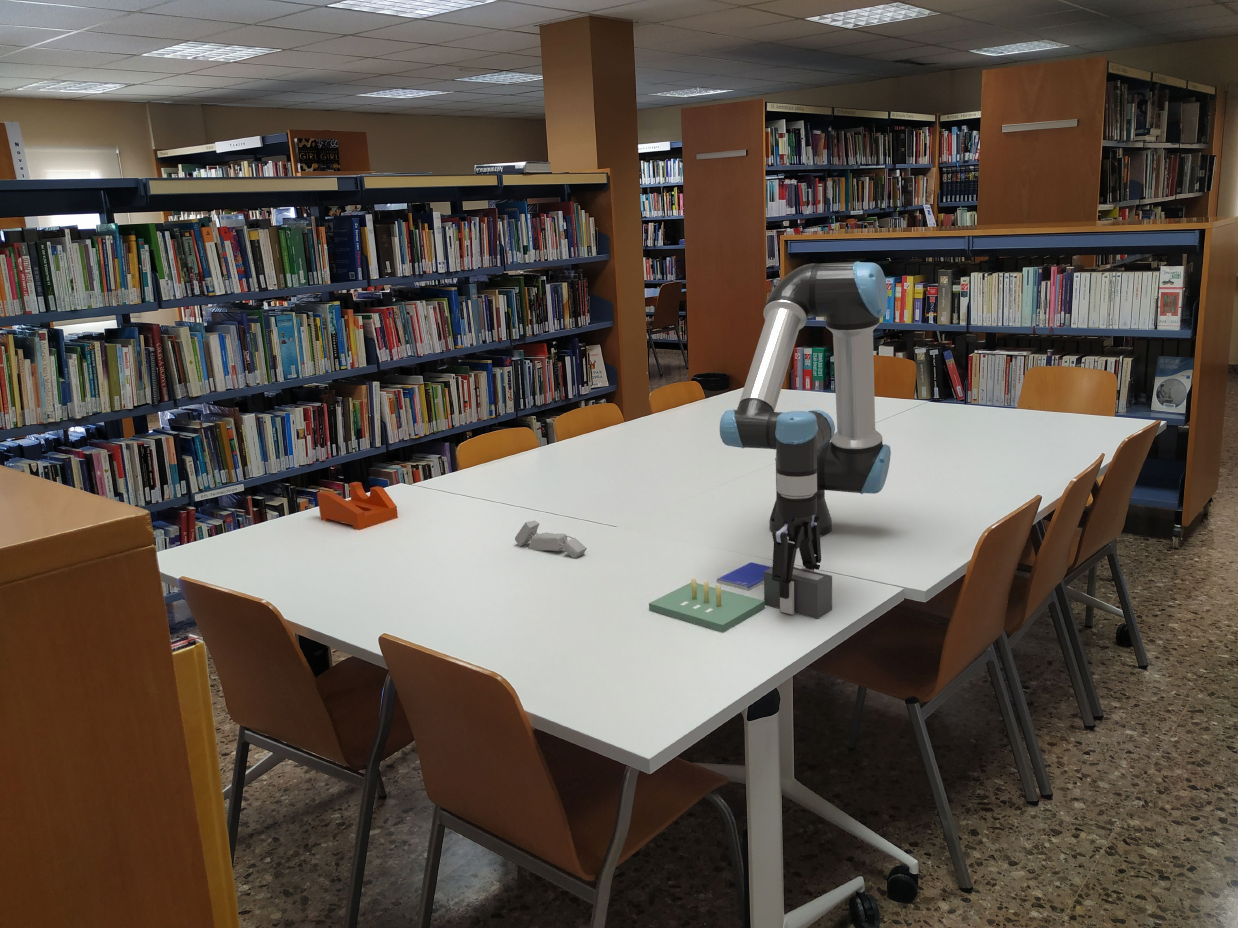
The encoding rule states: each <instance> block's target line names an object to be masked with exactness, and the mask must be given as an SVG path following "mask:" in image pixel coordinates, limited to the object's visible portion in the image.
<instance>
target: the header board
mask: <svg viewBox="0 0 1238 928" xmlns="http://www.w3.org/2000/svg"><path fill="white" fill-rule="evenodd" d="M765 608H766V605H765V601H764V599H759V598H755V597H752V596H747V595H744V594H740V593H736V592H732V591H728V590H726V589H722V586H721V585H720V584H719V585H715V587H713V586H710V585H709V582H707V581H706V582H705V581H704V582H703V583H699V582H697V579H696V578H692V579H691V580H690V582H689V583H687V584H685V585H682V586H681V587H679V588H676V589H675V590H673V591H671V592H669V593H666V594H664V595H662V596H660V597H658V598H657V599H655V600H653V601H651V602H649V603H648V610H649V611H650V612H653V613H654V612H655V613H657V614H660V615H664V616H666V617H670V618H674V619H678V620H680V621H684V622H687V623H691V624H694V625H697V626H701V627H703V628H706V629H711V630H714V631H716V632H720V633H725V632H726V631H728V630H729V629H731V628H733V627H735V626H737V625H738V624H740V623H742V622H744V621H745V620H746V619H748V618H750V617H752V616H754V615H755V614H757V613H759V612H760V611H762V610H764V609H765Z"/></svg>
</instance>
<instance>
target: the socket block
mask: <svg viewBox="0 0 1238 928" xmlns="http://www.w3.org/2000/svg"><path fill="white" fill-rule="evenodd" d="M770 567H771V568H770V569H768V570H766V571H764V583H763V596H764V597H763V601H765V606H767V607H771V608H775V609H778V610H780V589H779V582H777V581H773V580H772V567H773V566H770ZM791 581H793V582H794V614H798V615H802V616H805V617H809V618H813V619H816V620H818V619H819V618H822V617H823V616H824V615H826V614H828V613H829V612H831V611H832V610H833V575H830V574H827V573H826V574H825V573H822V572H817V571H814V572H813V571H809V570H805V569H801V568H799V567H796V566H794V568H793V573H792V579H791Z"/></svg>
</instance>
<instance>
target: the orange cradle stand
mask: <svg viewBox="0 0 1238 928" xmlns="http://www.w3.org/2000/svg"><path fill="white" fill-rule="evenodd" d="M348 487H349V494H350V499H345V498H343V497H342V496H340V495H338V494H337V493H336V492H334V491H329V490H321V491H318V492H316V494H317V500H318V501H317V502H318V507H319V508H318V509H319V515H320V516H319V517H320V520H321V521H324V522H330V521H331V520H332V521H336V522H339V523H343V524H346V525H351V526H352V529H354V530H357V531H361V530H365V529H368V528H371V527H374V526H377V525H380V524H383V523H387V522H389V521H393V520H396V519H398V518H399V515H398V508H397V505H396V503H395V502H394V500H393V499H392V498H391V496H390V494H388V493H387V491H386V489H384V487H381V486H374V487H370V488H369V490H370V492H369V494H367V493H366V492H365V490H364V488H363V484H362V482H359V481H354V482H350V483H349V484H348Z"/></svg>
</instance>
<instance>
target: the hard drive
mask: <svg viewBox="0 0 1238 928" xmlns="http://www.w3.org/2000/svg"><path fill="white" fill-rule="evenodd" d="M771 567H772V566H770V565H765V564H760V563H756V562H752V561H751V562H748V563H747V564H745V565H743V566H740V567H738V568H736V569H734V570H733V571H730V572H728V573H725V574H724V575H722V576H720V577H718V578H716V584H719V585H720V584H721V585H724V586H729V587H733V588H737V589H741V590H743V591H744V590H745V591H747V592H749V591H751V590H753V589H755V588H757V587H758V586H760V585H762V584H764V571H766V570H768V569H770V568H771Z"/></svg>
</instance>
